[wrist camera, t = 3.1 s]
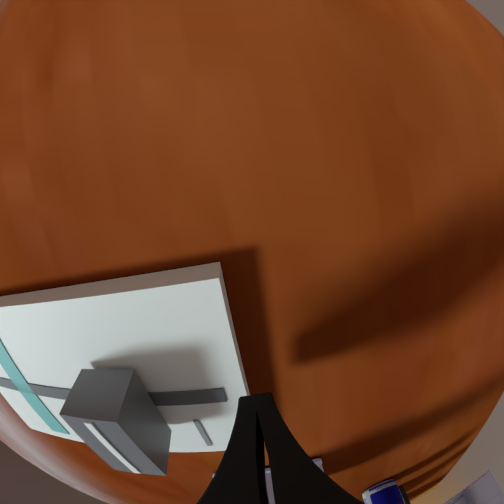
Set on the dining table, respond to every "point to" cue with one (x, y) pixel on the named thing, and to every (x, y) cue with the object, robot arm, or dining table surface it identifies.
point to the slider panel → (128, 350)
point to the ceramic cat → (404, 495)
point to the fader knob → (118, 420)
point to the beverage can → (383, 493)
